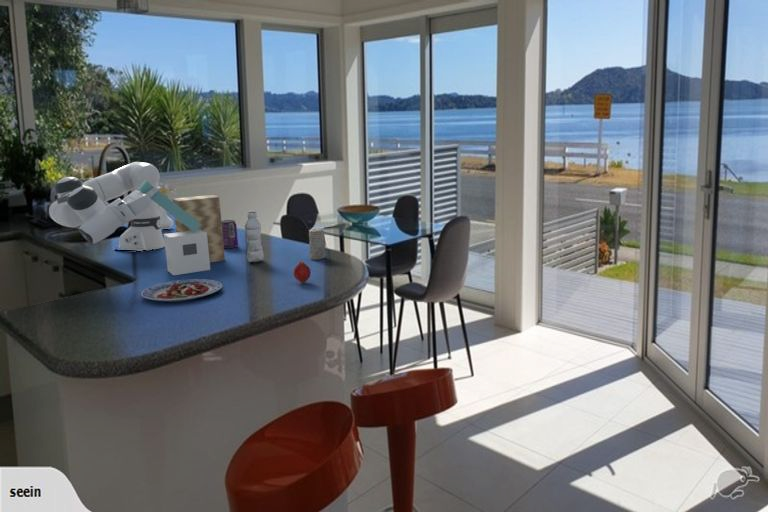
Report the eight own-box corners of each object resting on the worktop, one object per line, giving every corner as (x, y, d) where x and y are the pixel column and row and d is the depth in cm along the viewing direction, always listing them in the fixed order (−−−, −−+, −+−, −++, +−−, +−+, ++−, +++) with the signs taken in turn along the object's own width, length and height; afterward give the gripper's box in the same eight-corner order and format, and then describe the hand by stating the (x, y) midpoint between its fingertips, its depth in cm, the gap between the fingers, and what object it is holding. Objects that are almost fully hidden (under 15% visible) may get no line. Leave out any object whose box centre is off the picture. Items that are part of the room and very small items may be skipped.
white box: (173, 275, 248) (169, 237, 245) (167, 271, 256) (163, 234, 253) (210, 269, 255) (206, 232, 252) (203, 265, 263) (200, 229, 259)
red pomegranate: (294, 281, 231) (293, 259, 230) (311, 280, 232) (309, 258, 230) (294, 285, 226) (292, 263, 224) (311, 284, 226) (309, 262, 224)
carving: (310, 261, 263) (308, 231, 261) (309, 257, 270) (307, 228, 268) (326, 260, 264) (324, 230, 261) (325, 256, 271) (323, 227, 269)
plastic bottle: (267, 260, 267) (263, 211, 263) (258, 264, 261) (254, 214, 257) (253, 259, 270) (249, 211, 265) (244, 263, 263) (240, 213, 259)
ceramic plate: (162, 285, 234) (161, 277, 234) (232, 284, 232) (232, 276, 231) (127, 306, 209) (126, 297, 209) (206, 306, 207) (205, 296, 206)
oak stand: (185, 265, 263) (178, 200, 258) (179, 261, 272) (172, 198, 266) (225, 260, 271) (219, 196, 266) (217, 256, 280) (211, 194, 274)
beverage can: (240, 245, 301) (238, 219, 299) (235, 248, 294) (233, 222, 292) (225, 245, 302) (222, 219, 299) (219, 249, 295) (217, 222, 292)
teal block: (139, 189, 239) (146, 181, 240) (137, 188, 243) (144, 179, 243) (194, 232, 254) (201, 224, 254) (191, 230, 257) (198, 222, 258)
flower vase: (142, 230, 354) (137, 183, 349) (177, 226, 364) (172, 180, 359) (149, 233, 344) (143, 185, 338) (184, 228, 353) (179, 182, 348)
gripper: (123, 214, 250) (154, 192, 254) (133, 220, 232) (166, 197, 237) (112, 200, 247) (143, 179, 251) (122, 206, 230) (155, 183, 234)
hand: (154, 188), depth 244 cm, fingers closed on teal block, 4 cm apart
